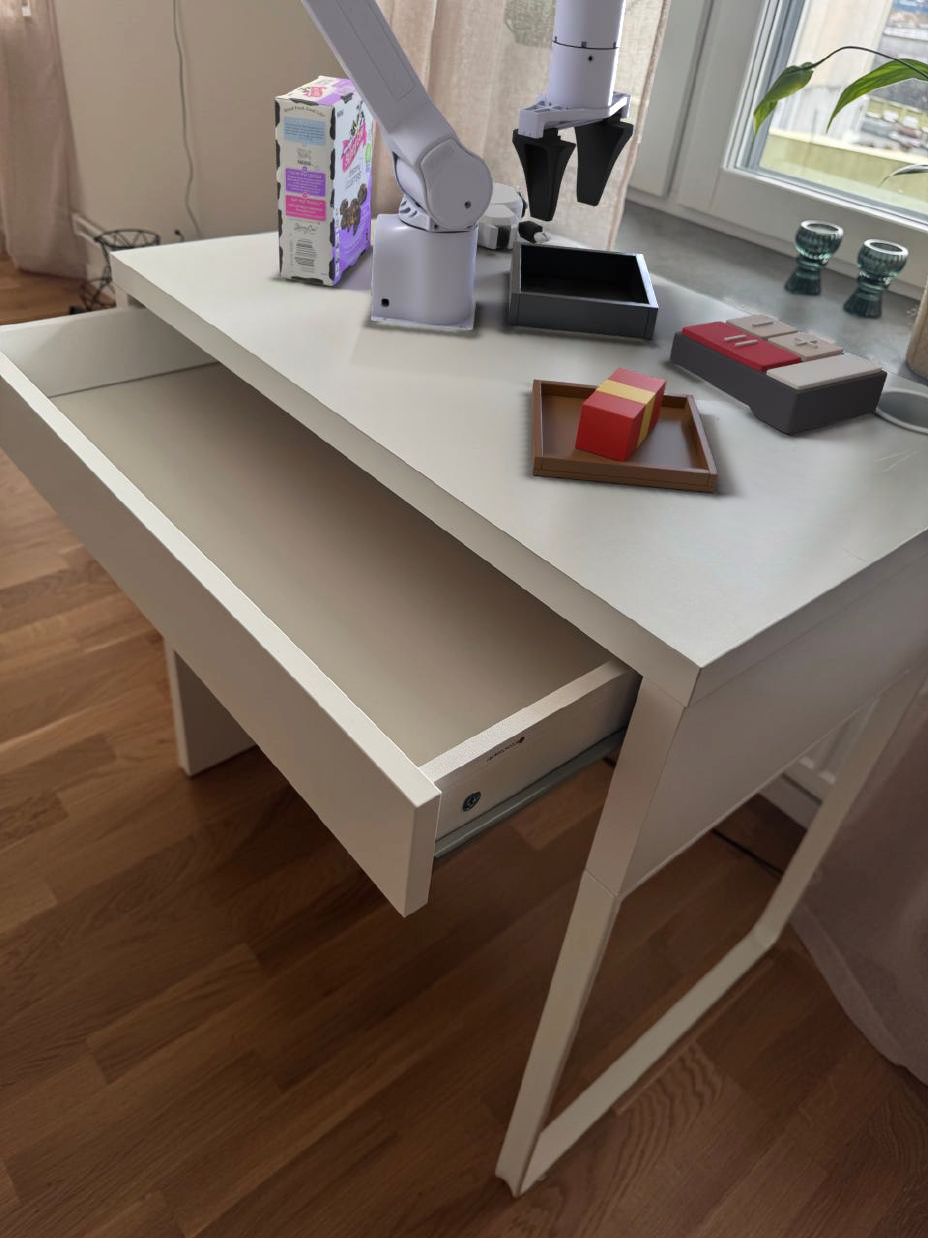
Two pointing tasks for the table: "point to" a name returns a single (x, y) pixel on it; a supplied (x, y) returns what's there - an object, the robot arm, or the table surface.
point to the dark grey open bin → (581, 291)
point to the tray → (659, 461)
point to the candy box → (323, 179)
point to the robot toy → (507, 220)
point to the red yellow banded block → (620, 414)
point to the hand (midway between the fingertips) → (564, 210)
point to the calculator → (780, 371)
